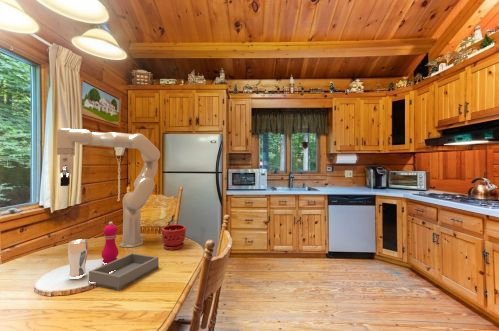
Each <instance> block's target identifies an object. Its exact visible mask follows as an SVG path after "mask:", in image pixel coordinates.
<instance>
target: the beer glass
mask: <svg viewBox="0 0 499 331" xmlns="http://www.w3.org/2000/svg"><path fill="white" fill-rule="evenodd" d="M67 246H68V247H67V258H68V265H69V275H68V277H69V276H71V277H76V276H80V275H83V274H85V273H86V274H87V271H86V264H87V259H88V254H89V244H88V239H87V238H79V239H73V240H70V241H69V242H68V245H67Z"/></svg>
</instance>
